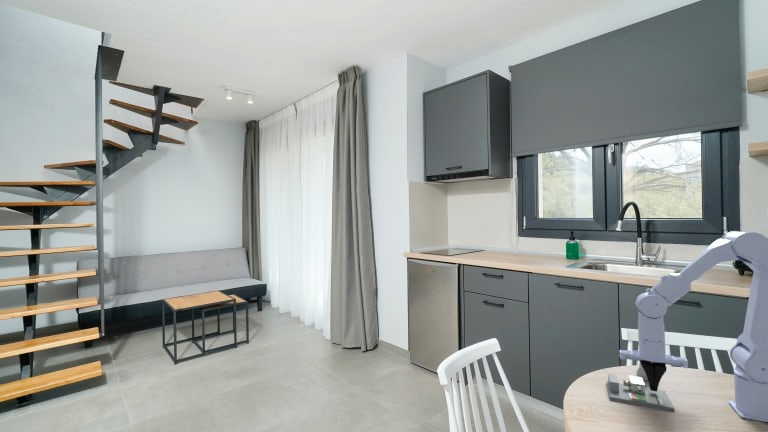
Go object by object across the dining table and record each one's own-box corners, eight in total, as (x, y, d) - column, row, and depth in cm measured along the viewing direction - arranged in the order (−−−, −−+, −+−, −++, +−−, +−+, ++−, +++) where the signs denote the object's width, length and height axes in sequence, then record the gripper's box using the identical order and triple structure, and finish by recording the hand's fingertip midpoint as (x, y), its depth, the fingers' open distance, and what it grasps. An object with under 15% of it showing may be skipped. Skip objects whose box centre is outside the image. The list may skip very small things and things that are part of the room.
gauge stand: (665, 393, 95) (664, 381, 95) (674, 411, 87) (674, 398, 87) (606, 383, 102) (606, 372, 102) (609, 399, 93) (609, 387, 93)
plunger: (642, 386, 97) (641, 377, 97) (647, 399, 90) (647, 390, 90) (622, 383, 99) (622, 374, 100) (626, 396, 92) (626, 386, 92)
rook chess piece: (641, 381, 103) (640, 354, 103) (632, 374, 107) (632, 348, 107) (658, 382, 102) (657, 354, 102) (648, 375, 107) (647, 348, 107)
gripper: (681, 337, 95) (683, 388, 94) (617, 331, 101) (619, 378, 101) (689, 346, 88) (691, 400, 88) (620, 338, 95) (622, 388, 95)
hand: (653, 389), depth 94 cm, fingers closed
